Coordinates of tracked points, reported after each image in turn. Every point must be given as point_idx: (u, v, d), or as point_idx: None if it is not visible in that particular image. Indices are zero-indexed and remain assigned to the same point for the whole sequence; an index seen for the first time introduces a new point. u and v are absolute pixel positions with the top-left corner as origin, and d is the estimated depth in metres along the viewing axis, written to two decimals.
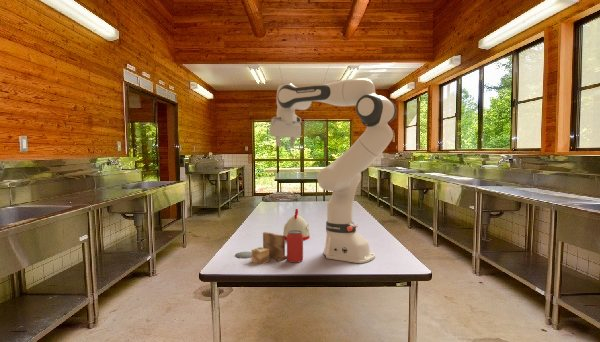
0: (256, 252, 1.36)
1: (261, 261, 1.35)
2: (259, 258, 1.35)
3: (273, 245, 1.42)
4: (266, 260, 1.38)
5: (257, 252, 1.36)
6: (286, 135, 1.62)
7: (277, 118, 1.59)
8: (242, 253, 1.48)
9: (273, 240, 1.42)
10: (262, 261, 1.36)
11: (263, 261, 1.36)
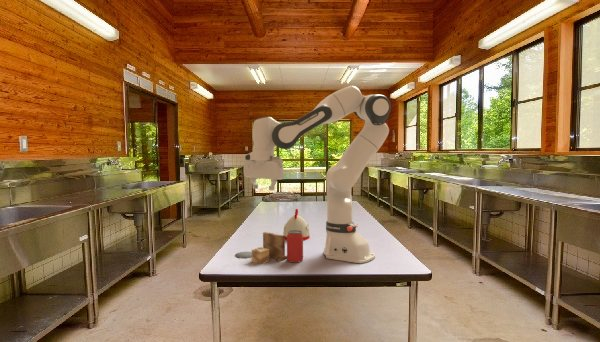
0: (256, 252, 1.36)
1: (261, 261, 1.35)
2: (259, 258, 1.35)
3: (273, 245, 1.42)
4: (266, 260, 1.38)
5: (257, 252, 1.36)
6: None
7: None
8: (242, 253, 1.48)
9: (273, 240, 1.42)
10: (262, 261, 1.36)
11: (263, 261, 1.36)
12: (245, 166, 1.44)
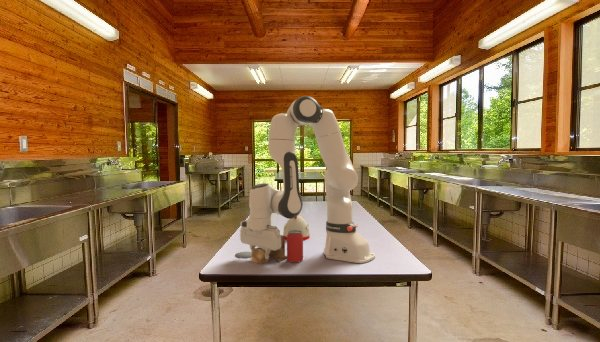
0: (256, 252, 1.36)
1: (261, 261, 1.35)
2: (259, 258, 1.35)
3: None
4: (266, 260, 1.38)
5: (257, 252, 1.36)
6: None
7: None
8: (242, 253, 1.48)
9: None
10: (262, 261, 1.36)
11: (263, 261, 1.36)
12: (242, 232, 1.41)
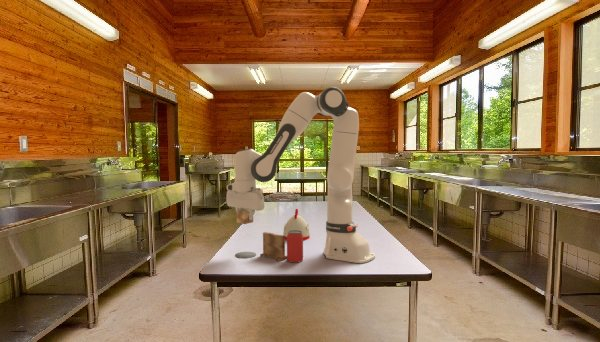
0: (241, 213, 1.43)
1: (245, 221, 1.43)
2: (243, 218, 1.43)
3: (273, 245, 1.42)
4: (250, 221, 1.45)
5: (241, 213, 1.43)
6: None
7: None
8: (242, 253, 1.48)
9: (273, 240, 1.42)
10: (246, 221, 1.43)
11: (247, 221, 1.44)
12: (228, 195, 1.49)
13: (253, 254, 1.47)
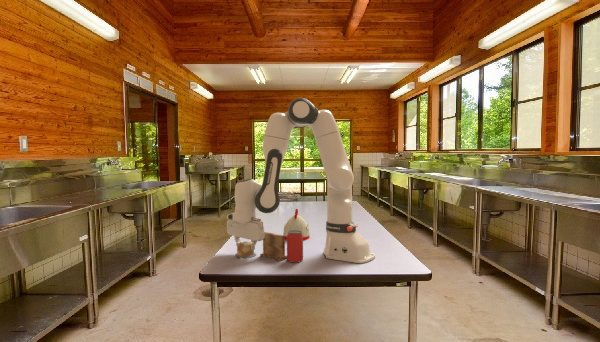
0: (241, 246, 1.44)
1: (246, 254, 1.44)
2: (244, 251, 1.43)
3: (273, 245, 1.42)
4: (251, 253, 1.46)
5: (242, 246, 1.44)
6: None
7: None
8: None
9: (273, 240, 1.42)
10: (247, 254, 1.44)
11: (248, 254, 1.44)
12: (228, 224, 1.49)
13: None
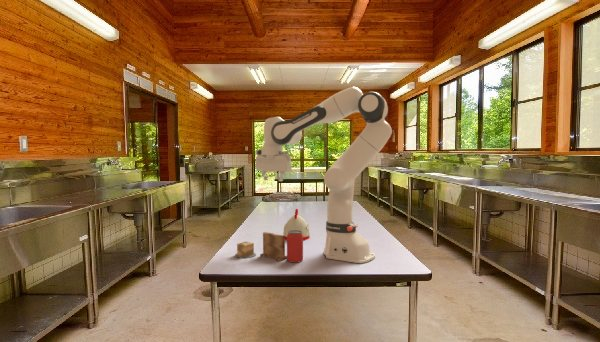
0: (241, 246, 1.44)
1: (246, 254, 1.44)
2: (244, 251, 1.43)
3: (273, 245, 1.42)
4: (251, 253, 1.46)
5: (242, 246, 1.44)
6: None
7: None
8: None
9: (273, 240, 1.42)
10: (247, 254, 1.44)
11: (248, 254, 1.44)
12: (257, 160, 1.64)
13: None
